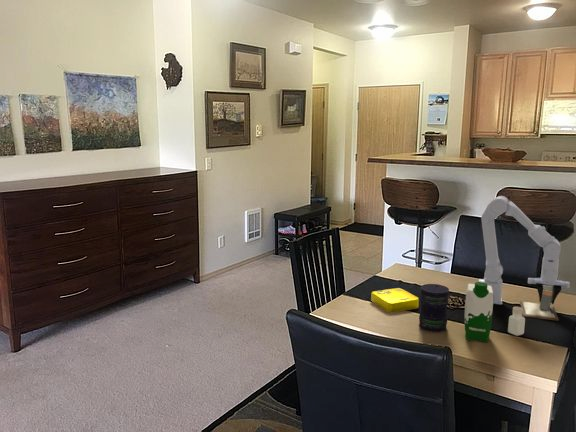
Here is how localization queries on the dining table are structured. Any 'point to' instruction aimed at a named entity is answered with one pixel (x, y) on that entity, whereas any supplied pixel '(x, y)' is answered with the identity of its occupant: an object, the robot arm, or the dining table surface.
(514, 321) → the salt shaker
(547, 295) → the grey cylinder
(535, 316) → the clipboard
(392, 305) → the element tile
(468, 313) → the milk carton
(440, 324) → the storage jar
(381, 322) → the dining table surface
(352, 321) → the dining table surface
